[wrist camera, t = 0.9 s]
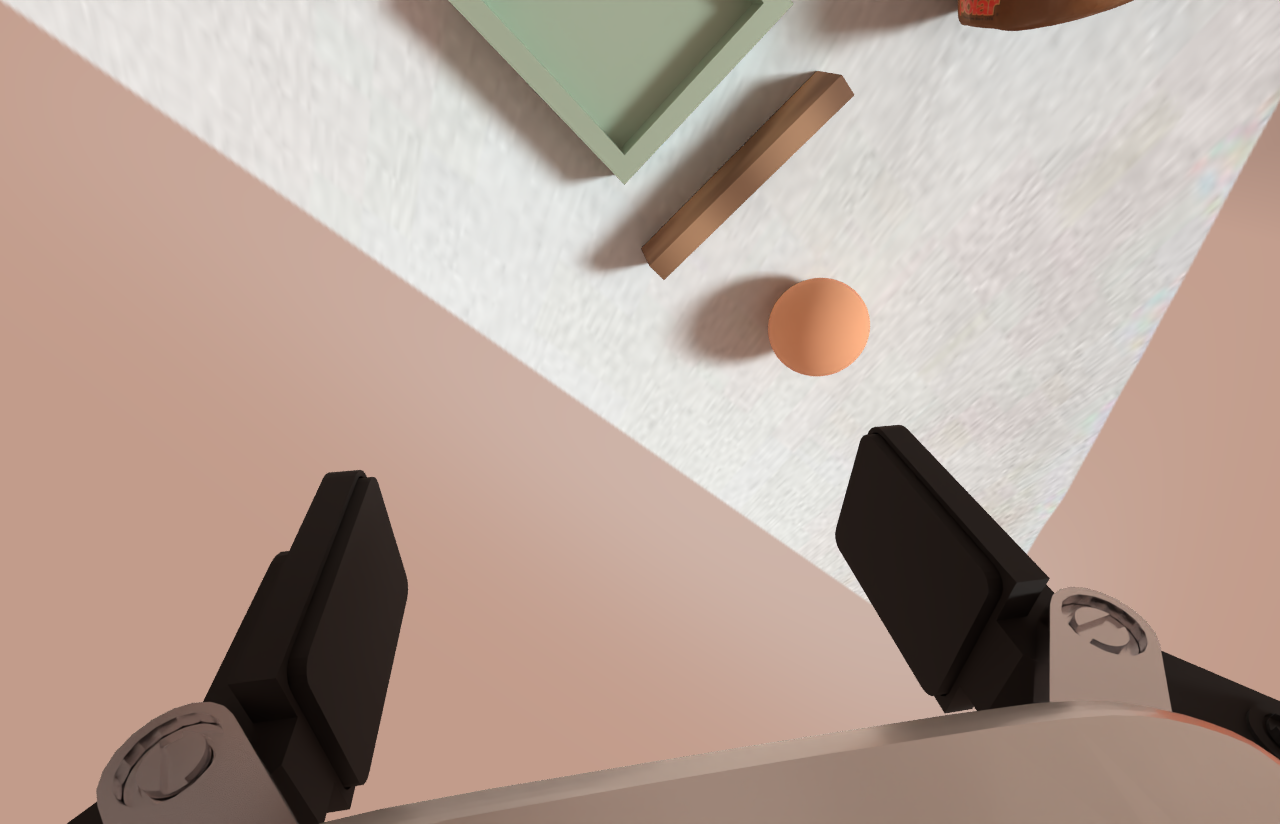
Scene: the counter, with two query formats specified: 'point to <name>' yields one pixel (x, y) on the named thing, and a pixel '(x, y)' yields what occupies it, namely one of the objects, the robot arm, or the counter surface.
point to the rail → (747, 170)
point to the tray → (623, 61)
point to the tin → (1029, 12)
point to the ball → (818, 327)
